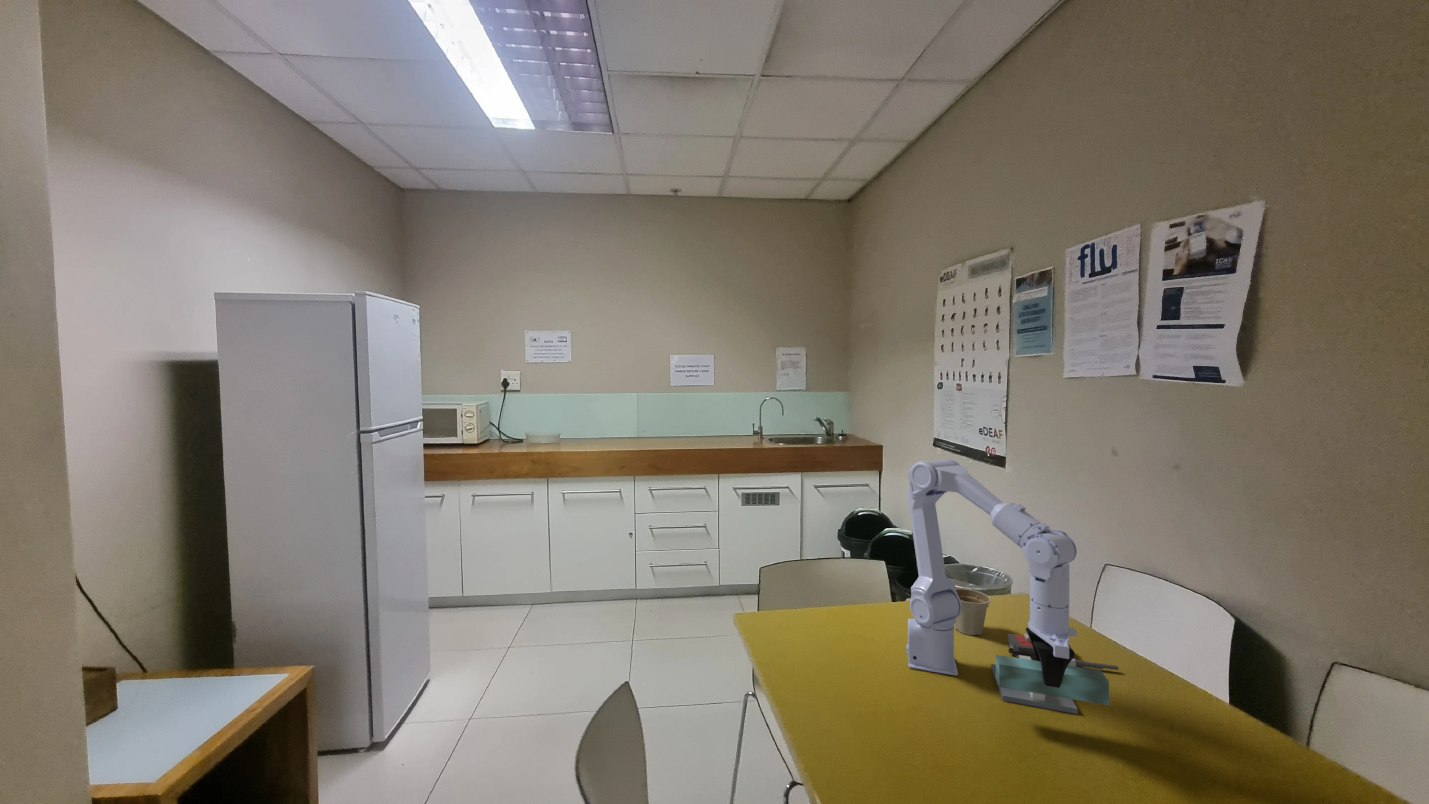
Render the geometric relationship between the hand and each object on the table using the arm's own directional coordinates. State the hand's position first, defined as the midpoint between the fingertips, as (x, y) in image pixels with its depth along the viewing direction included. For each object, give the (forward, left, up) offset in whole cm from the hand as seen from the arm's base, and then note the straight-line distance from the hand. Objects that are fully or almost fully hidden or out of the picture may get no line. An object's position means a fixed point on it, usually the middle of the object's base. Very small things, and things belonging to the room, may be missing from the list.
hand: (1048, 679), depth 87 cm
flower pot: (-8, +36, -9) cm, 38 cm away
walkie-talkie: (+9, +28, -9) cm, 31 cm away
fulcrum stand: (0, +12, -8) cm, 15 cm away
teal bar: (0, 0, -2) cm, 2 cm away
